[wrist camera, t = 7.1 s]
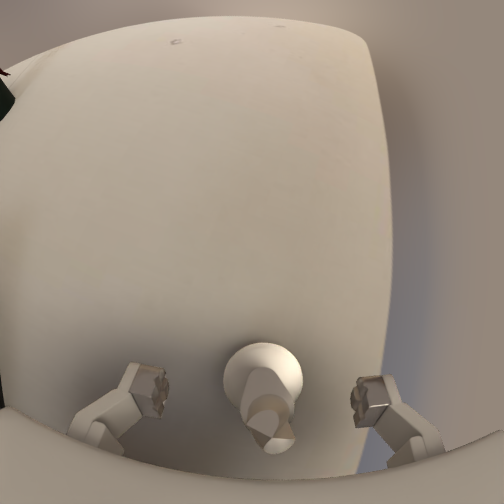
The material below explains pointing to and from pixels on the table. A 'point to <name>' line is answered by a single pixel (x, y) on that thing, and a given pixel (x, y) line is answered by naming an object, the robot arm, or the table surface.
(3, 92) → the wine bottle
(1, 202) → the table surface
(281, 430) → the screw
